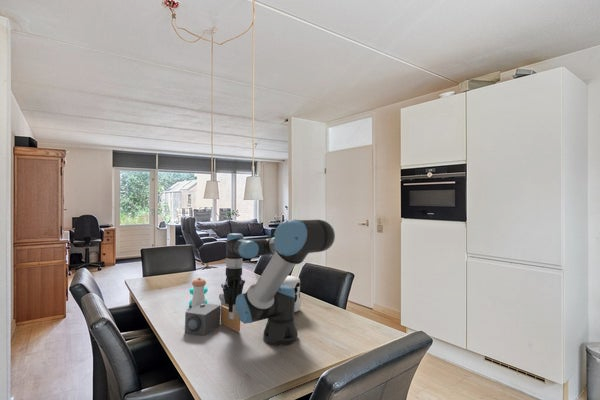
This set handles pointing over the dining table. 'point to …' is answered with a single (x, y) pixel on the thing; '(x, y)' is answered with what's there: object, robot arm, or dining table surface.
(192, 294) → the donuts
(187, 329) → the camera housing
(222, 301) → the teacup
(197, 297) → the salt shaker
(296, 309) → the milk container
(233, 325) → the side door
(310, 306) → the dining table surface
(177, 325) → the dining table surface
